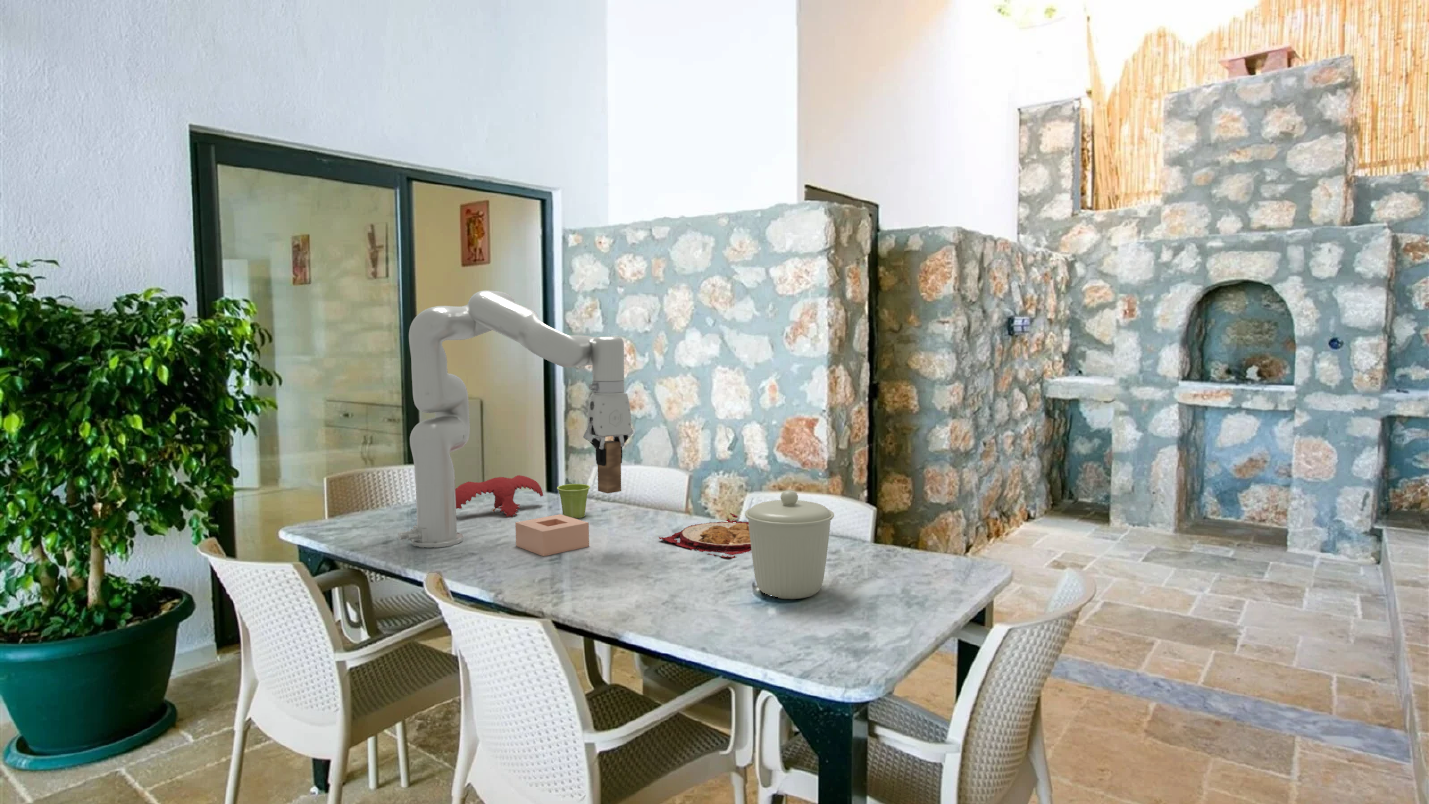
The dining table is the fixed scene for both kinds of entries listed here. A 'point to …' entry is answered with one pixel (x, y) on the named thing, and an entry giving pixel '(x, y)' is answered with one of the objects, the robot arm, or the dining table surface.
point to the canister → (789, 545)
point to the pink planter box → (552, 534)
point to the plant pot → (573, 499)
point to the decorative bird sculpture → (497, 492)
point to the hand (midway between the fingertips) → (609, 463)
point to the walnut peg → (610, 469)
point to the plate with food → (715, 537)
